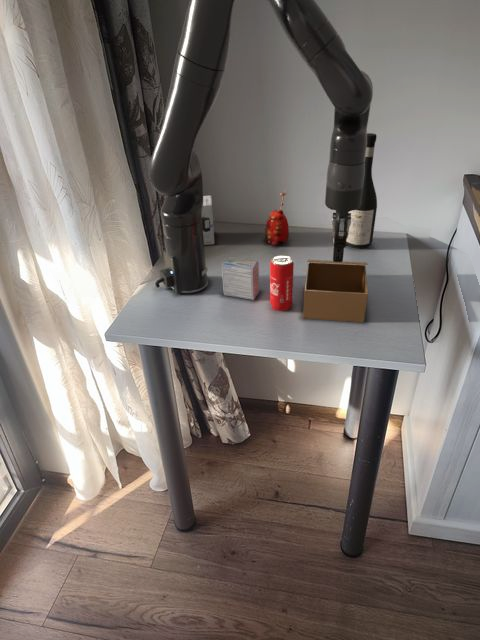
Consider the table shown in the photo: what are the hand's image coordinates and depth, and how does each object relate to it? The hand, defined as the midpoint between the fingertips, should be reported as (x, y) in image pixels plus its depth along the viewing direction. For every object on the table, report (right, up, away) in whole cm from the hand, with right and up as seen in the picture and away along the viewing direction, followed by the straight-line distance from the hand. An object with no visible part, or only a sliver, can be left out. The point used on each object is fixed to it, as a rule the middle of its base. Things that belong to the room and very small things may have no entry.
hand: (337, 260), depth 109 cm
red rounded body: (-13, +12, +34) cm, 38 cm away
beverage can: (-13, -10, +5) cm, 17 cm away
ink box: (-34, +13, +36) cm, 51 cm away
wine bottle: (+11, +11, +32) cm, 35 cm away
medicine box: (-22, -7, +9) cm, 25 cm away
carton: (0, -10, +5) cm, 11 cm away
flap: (0, 0, +2) cm, 2 cm away
